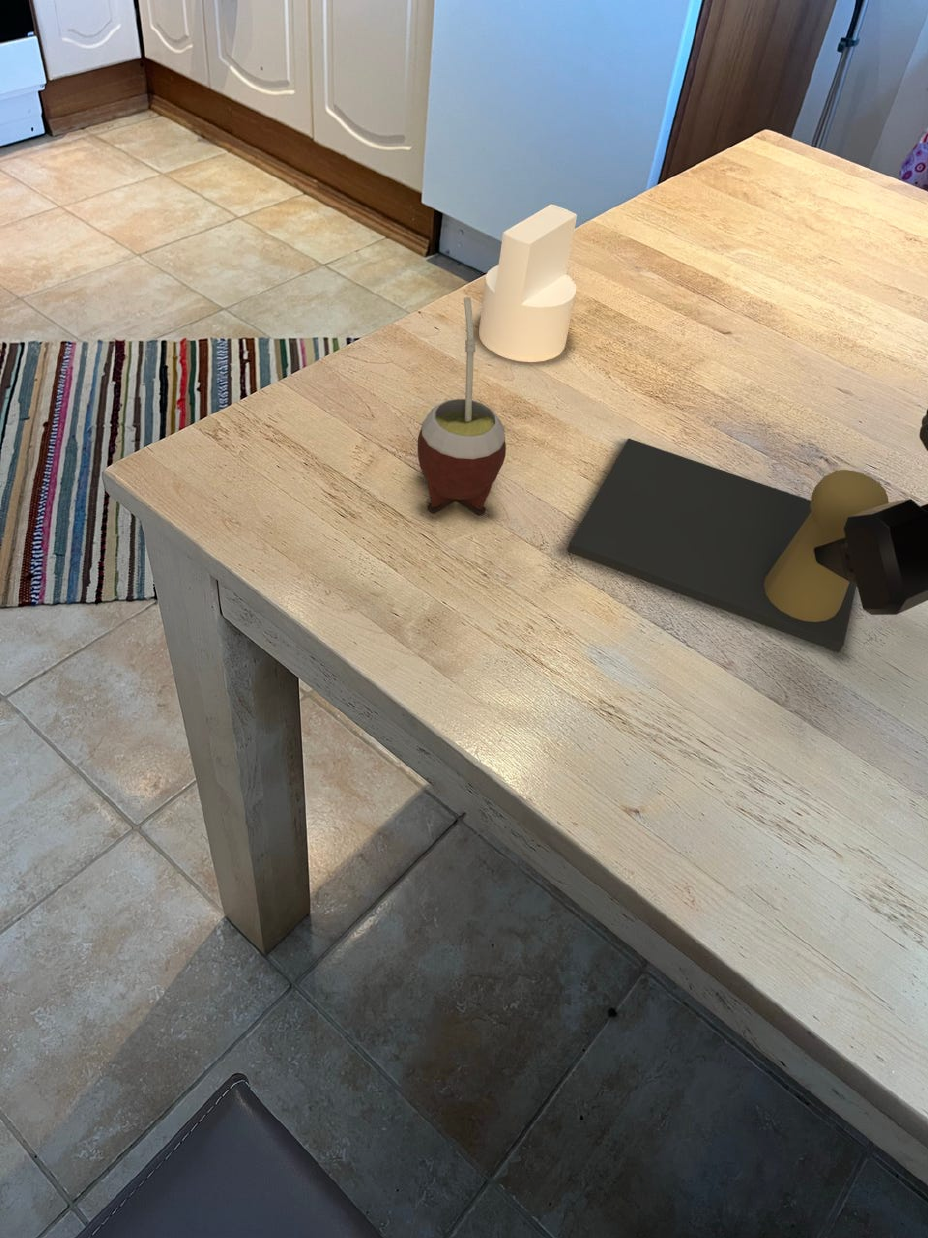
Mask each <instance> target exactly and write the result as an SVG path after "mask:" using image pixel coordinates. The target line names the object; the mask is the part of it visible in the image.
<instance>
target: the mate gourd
mask: <svg viewBox="0 0 928 1238" xmlns="http://www.w3.org/2000/svg"><path fill="white" fill-rule="evenodd" d="M463 306H464V316H465V317H464V318H465V330H466V339H464V353H465V354H466V357H465V359H466V360H465V394H464V398H455V399H454V398H453V399H448V400H445V401H443V402H440V403H439V404H437V405H436V406H434V407H433V408H432V409H431V410H430V412H429V413H428V414H427V415H426V417H425V418H424V420H423V421H422V422H421V428H420V430H419V433H418V437H417V459H418V463H419V468H420V470H421V473H422V475H423V477H424V479H425V480H426V482H427V484H428V491H429V496H430V501H431V502H430V503H429V504H427V511H428V512H429V513H431V514H433V515H435V514H436V513H439V512H440V511H442V510H443V509H445V508H446V507H448V506H450V505H451V504H454V503H455V502H456V503H458V504H460V505H462V506H463V507H464V508H466V509H467V510H469V511H470V512H472V513H473V514H475V515H476V516H478V517H482V516H483V515H485V514H486V511H487V508H486V507H485V506H484V504H485V502H486V501H487V499H488V497H489V495H490V493H491V489H492V486H493V483H494V482H495V481H496V479H497V477H498V475H499V473H500V471H501V469H502V467H503V465H504V462H505V458H506V451H507V444H506V433H505V426H504V424H503V422H502V420H501V419H500V418H499V417H498V415H497V413H495V411H494V409H493V408H491V407H490V406H488V405H487V404H484V403H483V402H480V401H477V400H474V399H473V384H474V380H473V379H474V353H476V339H475V334H474V333H475V332H474V320H473V310H472V300H471V297H470V296H465V297H463Z"/></svg>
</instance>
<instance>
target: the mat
mask: <svg viewBox="0 0 928 1238" xmlns="http://www.w3.org/2000/svg"><path fill="white" fill-rule="evenodd" d="M810 503H811V499H807V498H805V497H802V496H799V495H795V494H794V493H790V492H787V491H784V490H781V489H778V488H775V487H773V486H770V485H766V484H763V483H762V482H761V483H760V482H758V481H754V480H752V479H749V478H746V477H742V476H740V475H737V474H734V473H731V472H728V471H726V470H723V469H720V468H717V467H713V466H711V465H707V464H704V463H702V462H699V461H697V460H693V459H690V458H688V457H684V456H681V455H679V454H676V453H673V452H670V451H667V450H664V449H661V448H658V447H655V446H652V445H649V444H646V443H643V442H640V441H637V440H635V439H632V438H627V440H626V441H625V444H623V447H622V449H621V451H620V452H619V454H618V456H617V458H616V459H615V462H614V463H613V465H612V467H611V469H610V470H609V472H608V474H607V476H606V478H605V479H604V482H603V483H602V485H601V487H600V488H599V490H598V492H597V494H596V495H595V497H594V499H593V501H592V502H591V504H590V507H589V508H588V510H587V512H586V513H585V515H584V517H583V519H582V521H580V524H579V526H578V528H577V530H576V532H575V533H574V535H573V537H572V538H571V541H570V542H569V545H568V549H567V553H570V554H573V555H575V556H577V557H581V558H583V559H586V560H589V561H590V562H593V563H595V564H599V565H602V566H605V567H607V568H610V569H613V570H616V571H618V572H621V573H623V574H626V575H629V576H631V577H634V578H637V579H639V580H643V581H645V582H647V583H650V584H653V585H656V586H658V587H661V588H664V589H666V590H669V591H672V592H675V593H677V594H679V595H683V596H684V597H688V598H690V599H693V600H696V601H698V602H701V603H704V604H707V605H709V606H712V607H715V608H716V609H720V610H723V611H725V612H728V613H731V614H733V615H736V616H738V617H742V618H744V619H747V620H749V621H752V622H755V623H758V624H760V625H763V626H766V627H769V628H771V629H773V630H776V631H778V632H781V633H784V634H787V635H790V636H792V637H795V638H797V639H800V640H802V641H803V640H804V641H806V642H809V643H812V644H814V645H816V646H819V647H822V648H824V649H827V650H831V651H833V652H835V653H840V652H841V650H842V648H843V646H844V644H845V640H846V635H847V630H848V627H849V626H848V625H849V620H850V616H851V612H852V607H853V603H854V598H855V594H856V589H857V587H856V586H855V585H853V584H852V583H850V582H849V585H848V588H847V590H846V593H845V596H844V599H843V602H842V604H841V607H840V610H839V611H838V612H837V614H836V615H835V616H834V617H832V618H830V619H828V620H826V621H820V622H810V621H803V620H800V619H797V618H793V617H791V616H789V615H787V614H786V613H784V612H782V611H780V610H779V609H778V608H777V607H776V606H775V605H774V604H772V603H771V601H770V600H769V598H768V597H767V595H766V593H765V589H764V582H765V577H766V576H767V575H768V573H769V572H770V570H771V569H772V567H773V566H774V565H775V563H776V562H777V560H778V559H779V557H780V556H781V555H782V553H783V552H784V550H785V549H786V547H787V546H788V545H789V543H790V542H791V540H792V539H793V537H794V536H795V535H796V533H797V532H798V530H799V529H800V528H801V526H802V525H803V523H804V522H805V520H806V519H807V518H808V516H809V515H810V513H811V512H812V511H811V508H810Z"/></svg>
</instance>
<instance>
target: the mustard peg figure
mask: <svg viewBox="0 0 928 1238" xmlns="http://www.w3.org/2000/svg"><path fill="white" fill-rule="evenodd" d="M810 500H811V503H810V508H811V511H812V512H811V513H810V515H809V516H808V518H807V519H806V520H805V522H804V523H803V525H802V526H801V528H800V529H799V530H798V532H797V533H796V535H795V536H794V537H793V539H792V540H791V542H790V543H789V545H788V546H787V547H786V549H785V550H784V552H783V553H782V555H781V556H780V557H779V559H778V560H777V562H776V563H775V565H774V566H773V567H772V569H771V570H770V572H769V573H768V575H767V576H766V577H765V582H764V589H765V593H766V595H767V597H768V598H769V600H770V601H771V603H772V604H774V605H775V606H776V607H777V608H778V609H779V610H780V611H782V612H784V613H786V614H787V615H789V616H791V617H793V618H797V619H800V620H803V621H810V622H820V621H826V620H828V619H830V618H832V617H834V616H835V615H836V614H837V612H838V611H839V610H840V607H841V604H842V602H843V599H844V596H845V593H846V590H847V588H848V585H849V581H847V580H845V579H844V578H842V577H840V576H839V575H837V574H835V573H833V572H832V571H830V570H828V569H827V568H825V567H823V566H822V565H820V564H818V563H817V562H816V559H815V555H814V548H815V547H817V546H820V545H823V544H826V543H828V542H831V541H834V540H837V539H840V538H843V537H845V533H844V529H843V528H844V526H845V523H846V521H847V518H848V517H850V516H852V515H855V514H857V513H860V512H863V511H865V510H868V509H870V508H873V507H876V506H878V505H881V504H887V503H890V501H889V496H888V494H887V491H886V488H884V486H883V485H882V484H881V483H880V482H878V481H877V480H876V479H874V477H872V476H869V475H867V474H865V473H863V472H859V471H855V470H851V469H839V470H835V471H833V472H829V473H828V474H826V475H825V476H823V477H822V478H821V479H820V481H819V482H818V483H817V484H816V485H815V486H814V488H813V490H812V492H811V497H810Z"/></svg>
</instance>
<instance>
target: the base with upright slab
mask: <svg viewBox="0 0 928 1238" xmlns="http://www.w3.org/2000/svg"><path fill="white" fill-rule="evenodd" d="M577 219H578V214H577V213H575V212H573V211H571V210H569V209H567V208H565V207H561V206H558V205H555V204H549V205H548V206H545V207H544V208H542V209H540V210H538V211H536V212H535V213H534V214H532V215H530V216H528V217H527V218H525V219H523V220H522V221H520V222H518V223H517V224H515V225H513V226H511V227H510V228H508V229H506V230H505V231H503V232H502V238H501V246H500V253H499V260H498V264H497V265H495V266H493V267H491V269H489V270H488V271H487V273H486V275H485V281H484V289H483V296H482V304H481V312H480V320H479V327H478V335H479V336H478V337H479V339H480V341H481V343H482V345H483V346H485V348H487V349H488V350H489V351H491V352H493V353H494V354H496V355H498V356H500V357H502V358H505V359H508V360H512V361H516V362H517V361H518V362H524V363H525V362H527V363H535V362H537V363H538V362H544V361H549V360H553V359H554V358H556V357H557V356H559V355H560V354H561V353H562V352H563V351H564V350H565V347H566V345H567V344H566V343H567V340H568V333H569V329H570V324H571V319H572V314H573V310H574V305H575V299H576V295H577V285H576V282H575V281H574V280H573V278H572V277H571V276H569V275H568V274H567V271H568V266H569V261H570V256H571V250H572V244H573V240H574V235H575V229H576V224H577Z"/></svg>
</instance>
